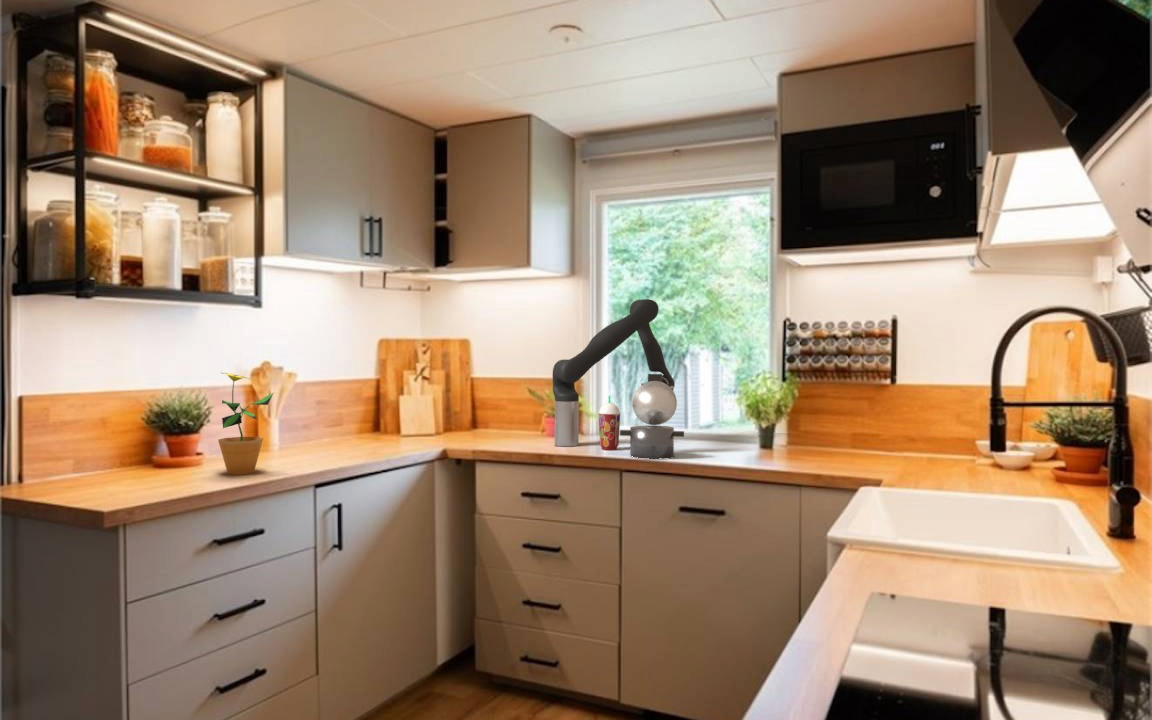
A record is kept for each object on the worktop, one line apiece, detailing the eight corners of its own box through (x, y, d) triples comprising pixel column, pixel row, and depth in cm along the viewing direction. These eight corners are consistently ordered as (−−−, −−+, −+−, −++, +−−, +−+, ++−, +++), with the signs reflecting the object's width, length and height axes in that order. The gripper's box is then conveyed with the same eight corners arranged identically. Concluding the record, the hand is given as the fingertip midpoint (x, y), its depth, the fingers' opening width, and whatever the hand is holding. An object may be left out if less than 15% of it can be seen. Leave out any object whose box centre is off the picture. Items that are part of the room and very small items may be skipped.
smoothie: (625, 449, 287) (625, 395, 286) (610, 451, 280) (610, 396, 280) (608, 447, 292) (608, 394, 292) (593, 449, 286) (593, 395, 286)
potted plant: (248, 478, 218) (248, 372, 218) (193, 475, 223) (193, 372, 223) (287, 469, 235) (287, 371, 235) (236, 466, 241) (236, 370, 240)
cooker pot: (623, 452, 278) (623, 424, 278) (684, 453, 275) (684, 425, 274) (617, 458, 262) (617, 429, 262) (683, 460, 258) (683, 430, 258)
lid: (631, 424, 277) (632, 425, 279) (676, 425, 274) (676, 425, 276) (633, 373, 281) (633, 374, 283) (677, 373, 279) (677, 375, 281)
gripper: (641, 376, 302) (637, 377, 285) (675, 376, 300) (673, 377, 283) (641, 395, 302) (637, 397, 285) (675, 395, 300) (673, 398, 283)
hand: (655, 387), depth 284 cm, fingers closed
